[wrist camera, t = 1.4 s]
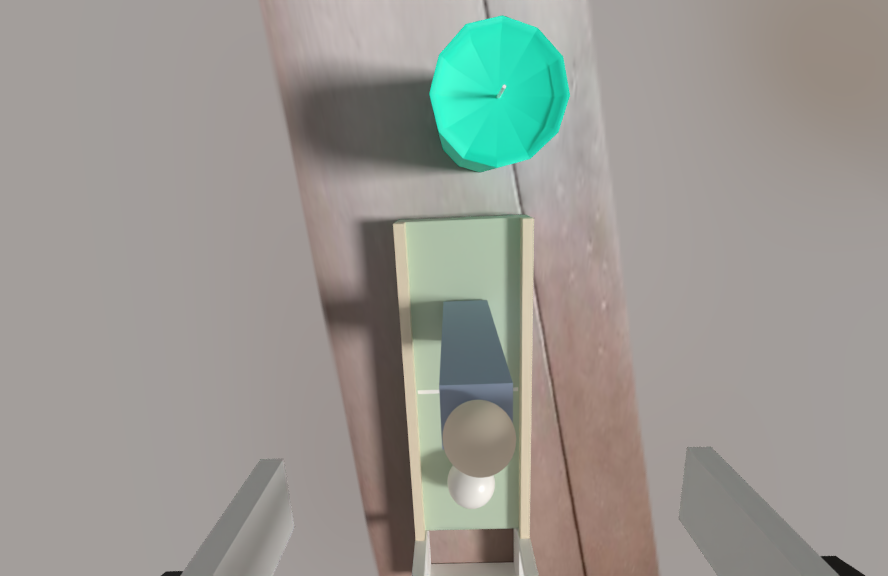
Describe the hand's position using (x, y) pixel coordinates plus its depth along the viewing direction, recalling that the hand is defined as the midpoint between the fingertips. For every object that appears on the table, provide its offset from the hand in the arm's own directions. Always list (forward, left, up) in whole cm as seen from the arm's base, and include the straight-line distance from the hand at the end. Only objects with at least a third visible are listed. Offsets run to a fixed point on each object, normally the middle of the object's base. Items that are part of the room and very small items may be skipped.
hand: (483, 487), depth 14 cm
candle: (-13, +2, -18) cm, 23 cm away
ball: (+12, 0, -14) cm, 18 cm away
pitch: (+5, 0, -18) cm, 19 cm away
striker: (0, 0, -16) cm, 16 cm away
